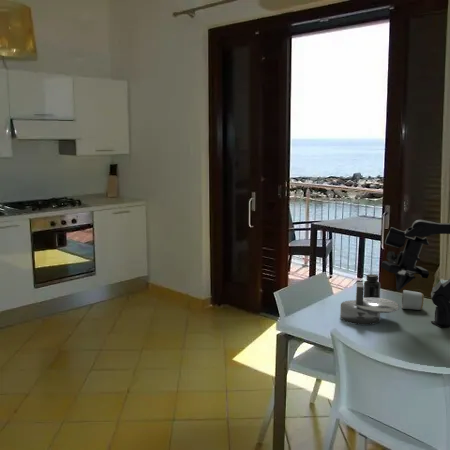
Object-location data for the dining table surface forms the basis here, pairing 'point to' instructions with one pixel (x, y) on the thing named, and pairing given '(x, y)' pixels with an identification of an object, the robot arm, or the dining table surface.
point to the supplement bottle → (372, 286)
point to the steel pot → (357, 314)
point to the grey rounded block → (412, 300)
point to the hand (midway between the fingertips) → (397, 290)
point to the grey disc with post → (373, 302)
